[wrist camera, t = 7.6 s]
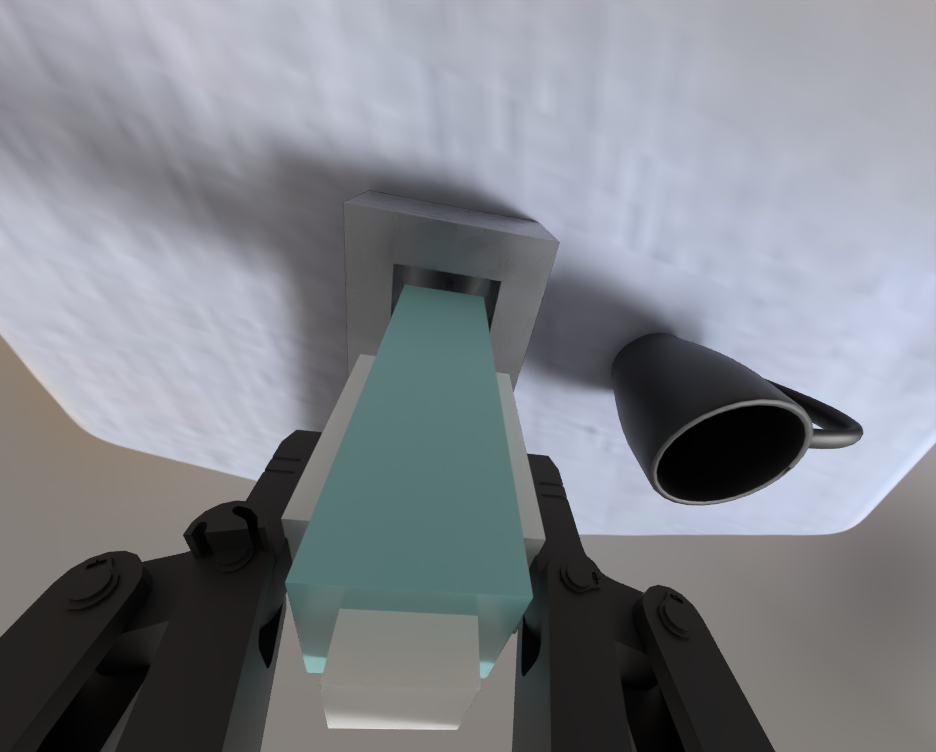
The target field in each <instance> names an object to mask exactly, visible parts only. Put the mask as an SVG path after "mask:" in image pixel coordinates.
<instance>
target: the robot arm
mask: <svg viewBox="0 0 936 752" xmlns="http://www.w3.org/2000/svg"><path fill="white" fill-rule="evenodd" d="M375 357H376V356H371V355H364V354H360V356H359V358H358V360H357V362H356V364H355V366H354V368H353V370H352V372H351V374H350V376H349V379H348V381H347V383H346V385H345V387H344V389H343V391H342V393H341V395H340V397H339V399H338V401H337V403H336V406H335V408H334V410H333V412H332V414H331V416H330V418H329V420H328V422H327V424H326V426H325V428H324V430H323V433H322V432H313V431H304V430H296V431H295V432H293V433H292V434H291V435H289V436H288V437H287V438H286V439H284V440H283V441H282V442H281V444H280V445H279V447H278V449H277V450H276V452H275V453H274V455H273V458H272V460H270V462H269V463H268V465H267V467H266V468H265V472H263V473H262V475H261V477H260V478H259V480H258V482H257V483H256V485H255V486H254V488H253V490H252V491H251V493H250V495H249V497H248V498H247V500H246V501H232V502H228V503H223V504H220V505H218V506H215V507H213V508H211V509H209V510H207V511H205V512H204V513H203V514H202V515H200V516H199V517H198V518H196V519H195V520H194V521H193V522H192V523H191V524H190V526H189V527H188V529H187V530H186V531H185V533H184V535H183V536H184V538H185V540H186V542H187V544H188V546H189V548H190V550H191V551H189V552H186V553H181V554H177V555H172V556H168V557H164V558H159V559H154V560H149V561H145V562H142V561H141V560H140V558H139V557H138V555H136V554H133V553H130V552H127V551H116V552H107V553H104V554H101V555H99V556H95V557H92V558H89V559H88V560H86V561H84V562H82V563H80V564H79V565H77V566H75V567H73V568H71V569H70V570H69V571H67V572H66V573H65V574H64V575H63V576H61V577H60V578H59V579H58V580H57V581H55V582H54V583H53V584H52V585H51V586H50V587H49V588H48V589H47V590H46V591H45V592H44V593H43V594H42V595H41V596H40V597H39V598H38V599H37V600H36V601H35V602H34V603H33V605H32V606H31V607H29V609H27V611H26V612H25V613H24V614H23V615H22V616H21V617H20V618H19V619H18V620H17V621H16V622H15V623H14V624H13V625H12V626H11V627H10V628H9V629H8V630H7V631H6V632H5V633H4V634H3V635H2V636H1V637H0V752H260V750H261V744H262V738H263V733H264V728H265V722H266V717H267V711H268V706H269V700H270V695H271V689H272V684H273V678H274V673H275V668H276V661H277V657H278V651H279V646H280V640H281V634H282V629H283V624H284V618H285V613H286V592H287V589H286V585H285V581H286V579H287V576H288V574H289V571H290V569H291V566H292V564H293V561H294V559H295V556H296V554H297V551H298V549H299V546H300V544H301V541H302V539H303V536H304V534H305V531H306V529H307V526H308V524H309V521H310V519H311V516H312V514H313V511H314V509H315V506H316V504H317V501H318V499H319V496H320V494H321V491H322V489H323V486H324V484H325V482H326V479H327V477H328V474H329V472H330V469H331V467H332V464H333V462H334V459H335V457H336V454H337V452H338V449H339V447H340V444H341V442H342V439H343V437H344V434H345V432H346V429H347V427H348V424H349V422H350V419H351V417H352V414H353V412H354V409H355V407H356V404H357V402H358V399H359V397H360V394H361V392H362V389H363V387H364V384H365V382H366V380H367V377H368V375H369V372H370V370H371V367H372V365H373V362H374V360H375ZM496 375H497V381H498V387H499V393H500V399H501V405H502V411H503V417H504V424H505V430H506V436H507V442H508V448H509V454H510V460H511V466H512V472H513V478H514V484H515V490H516V496H517V502H518V508H519V514H520V520H521V526H522V532H523V538H524V545H525V551H526V557H527V563H528V569H529V575H530V581H531V587H532V593H533V599H532V600H531V602H530V604H529V605H528V607H527V609H526V610H525V612H524V614H523V616H522V617H521V619H520V621H519V622H518V624H517V626H516V628H515V629H514V631H513V633H514V634H515V633H516V632H517V630H518V638H517V639H518V640H517V658H516V679H515V680H516V681H515V701H514V722H513V742H512V752H775V750H774V749H773V747H772V745H771V743H770V741H769V739H768V738H767V736H766V734H765V732H764V731H763V728H762V727H761V725H760V723H759V721H758V719H757V717H756V716H755V714H754V712H753V710H752V708H751V706H750V705H749V703H748V701H747V699H746V697H745V695H744V694H743V692H742V690H741V688H740V686H739V685H738V683H737V681H736V679H735V677H734V675H733V674H732V672H731V670H730V668H729V666H728V664H727V663H726V661H725V659H724V657H723V655H722V654H721V652H720V650H719V648H718V646H717V644H716V642H715V641H714V639H713V637H712V635H711V633H710V631H709V630H708V628H707V626H706V624H705V623H704V620H703V619H702V617H701V616H700V614H699V613H698V612H697V610H696V609H695V607H694V606H693V605H692V604H691V603H690V602H689V601H688V600H687V599H686V598H685V597H684V596H683V595H682V594H680V593H678V592H676V591H675V590H673V589H671V588H669V587H665V586H661V585H656V586H652V587H650V588H648V589H647V591H646V592H645V593H643V592H641V591H638V590H636V589H634V588H631V587H629V586H626V585H624V584H621V583H619V582H616V581H615V580H613V579H611V578H609V577H607V576H605V575H604V574H603V573H602V572H601V571H600V570H599V568H598V567H597V565H596V564H595V563H594V562H593V561H592V560H591V559H590V558H589V557H587V555H586V554H585V552H584V549H583V547H582V544H581V541H580V538H579V534H578V531H577V528H576V525H575V521H574V518H573V515H572V512H571V508H570V505H569V502H568V500H567V496H566V492H565V489H564V487H563V483H562V479H561V476H560V473H559V470H558V468H557V467H556V466H555V464H554V463H553V462H552V460H551V459H550V458H549V456H544V455H535V454H527V452H526V448H525V443H524V439H523V434H522V430H521V425H520V421H519V416H518V412H517V407H516V403H515V398H514V394H513V389H512V385H511V380H510V376H509V374H505V373H497V372H496Z"/></svg>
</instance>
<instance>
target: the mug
mask: <svg viewBox="0 0 936 752" xmlns="http://www.w3.org/2000/svg"><path fill="white" fill-rule="evenodd" d="M611 376H612V381H613V387H614V394H615V401H616V406H617V411H618V415H619V419H620V423H621V426H622V429H623V432H624V435H625V437H626V440H627V442H628V444H629V446H630V448H631V450H632V452H633V454H634V455H635V457H636V459H637V461H638V462H639V464H640V466H641V468H642V470H643V471H644V473H645V475H646V477H647V478H648V480H649V482H650V484H651V485H652V487H653V489H654V490H655V491H656V492H658V493H659V494H660V495H661V496H662V497H664V498H666V499H668V500H670V501H672V502H675V503H680V504H685V505H711V504H719V503H723V502H728V501H732V500H736V499H738V498H741V497H744V496H747V495H750V494H752V493H754V492H756V491H759V490H761V489H763V488H765V487H767V486H768V485H770V484H772V483H773V482H775V481H776V480H778V479H780V478H781V477H782V476H784V475H785V474H786V473H787V472H788V471H790V470H791V469H792V468H793V467H794V466H795V465H796V464H797V463H798V462H799V461H800V459H801V458H802V457H803V456H804V454H805V453H806V451H807V449H808V448H813V449H836V448H843V447H847V446H850V445H853V444H855V443H856V442H857V441H859V440H860V439H861V437H862V435H863V429H862V426H861V425H860V424H859V423H858V422H856V421H855V420H854V419H852V418H851V417H849V416H847V415H846V414H844V413H842V412H841V411H839V410H837V409H835V408H833V407H831V406H829V405H827V404H825V403H822V402H820V401H818V400H816V399H813V398H811V397H809V396H806V395H804V394H802V393H799V392H797V391H794V390H792V389H789V388H787V387H784V386H782V385H779V384H777V383H774V382H772V381H769V380H767V379H764V378H762V377H761V376H760V375H758V374H757V373H755V372H754V371H752V370H751V369H749V368H748V367H746V366H744V365H742V364H741V363H739V362H737V361H735V360H734V359H732V358H729V357H727V356H725V355H723V354H721V353H719V352H717V351H714V350H712V349H709V348H707V347H704V346H701V345H698V344H695V343H692V342H688V341H685V340H682V339H679V338H677V337H675V336H672V335H669V334H659V333H658V334H650V335H646V336H643V337H640V338H638V339H636V340H634V341H633V342H631V343H630V344H628V345H627V346H626V347H625V348H624V349H623V350H622V351H621V352H620V353H619V354H618V356H617V357H616V359H615V361H614V363H613V366H612V372H611ZM812 423H814V424H816V425H818V426H819V427H821V428H823V429H814V428H813V426H812Z"/></svg>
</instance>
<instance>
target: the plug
mask: <svg viewBox="0 0 936 752" xmlns="http://www.w3.org/2000/svg"><path fill="white" fill-rule="evenodd" d="M285 585H286V589H287V593H288V597H289V601H290V605H291V609H292V613H293V617H294V621H295V626H296V629H297V633H298V638H299V642H300V646H301V650H302V654H303V658H304V662H305V666H306V670H307V672H309V673H323V674H322V678H321V682H320V690H321V695H322V699H323V705H324V709H325V714H326V719H327V724H328V728H361V729H362V728H363V729H366V728H367V729H435V730H457V729H458V727H459V725H460V724H461V722H462V720H463V719H464V717H465V715H466V714H467V712H468V710H469V709H470V707H471V705H472V703H473V702H474V700H475V698H476V697H477V695H478V693H479V691H480V690H481V685H480V678H486V677H487V675H488V673H489V672H490V670H491V668H492V667H493V665H494V663H495V662H496V660H497V658H498V657H499V655H500V653H501V651H502V650H503V648H504V646H505V645H506V643H507V641H508V639H509V638H510V636H511V634H512V633H513V631H514V629H515V628H516V626H517V624H518V622H519V621H520V619H521V617H522V616H523V614H524V612H525V610H526V609H527V607H528V605H529V604H530V602H531V600H532V599H533V593H532V587H531V581H530V575H529V569H528V563H527V557H526V551H525V545H524V538H523V532H522V526H521V520H520V514H519V508H518V502H517V496H516V490H515V484H514V478H513V472H512V466H511V460H510V454H509V448H508V442H507V436H506V430H505V424H504V417H503V411H502V405H501V399H500V393H499V387H498V381H497V375H496V369H495V363H494V357H493V351H492V345H491V339H490V333H489V327H488V321H487V315H486V309H485V303H484V297H481V296H475V295H468V294H462V293H456V292H449V291H443V290H437V289H431V288H424V287H418V286H412V285H406V284H405V285H404V287H403V290H402V292H401V295H400V297H399V300H398V302H397V305H396V307H395V310H394V312H393V315H392V317H391V320H390V322H389V325H388V327H387V330H386V332H385V335H384V337H383V340H382V342H381V345H380V347H379V350H378V352H377V355H376V357H375V360H374V362H373V365H372V367H371V370H370V372H369V375H368V377H367V380H366V382H365V384H364V387H363V389H362V392H361V394H360V397H359V399H358V402H357V404H356V407H355V409H354V412H353V414H352V417H351V419H350V422H349V424H348V427H347V429H346V432H345V434H344V437H343V439H342V442H341V444H340V447H339V449H338V452H337V454H336V457H335V459H334V462H333V464H332V467H331V469H330V472H329V474H328V477H327V479H326V482H325V484H324V486H323V489H322V491H321V494H320V496H319V499H318V501H317V504H316V506H315V509H314V511H313V514H312V516H311V519H310V521H309V524H308V526H307V529H306V531H305V534H304V536H303V539H302V541H301V544H300V546H299V549H298V551H297V554H296V556H295V559H294V561H293V564H292V566H291V569H290V571H289V574H288V576H287V579H286V581H285Z"/></svg>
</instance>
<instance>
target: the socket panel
mask: <svg viewBox="0 0 936 752" xmlns="http://www.w3.org/2000/svg"><path fill="white" fill-rule="evenodd" d="M344 240H345V278H346V315H347V353H348V379H349V376H350V374H351V372H352V370H353V368H354V366H355V364H356V362H357V360H358V358H359V356H360V354H364V355H371V356H376V355H377V352H378V350H379V347H380V345H381V342H382V340H383V337H384V335H385V332H386V330H387V327H388V325H389V322H390V320H391V317H392V315H393V312H394V310H395V307H396V305H397V302H398V300H399V297H400V295H401V292H402V290H403V287H404V285H405V284H406V285H412V286H418V287H424V288H431V289H437V290H443V291H449V292H456V293H462V294H468V295H475V296H481V297H484V303H485V309H486V315H487V321H488V327H489V333H490V339H491V345H492V351H493V357H494V363H495V369H496V372H497V373H505V374H509V376H510V380H511V385H512V389H513V392H514V389H515V386H516V383H517V379H518V376H519V373H520V370H521V366H522V363H523V360H524V357H525V353H526V350H527V347H528V344H529V340H530V337H531V334H532V331H533V327H534V324H535V321H536V318H537V314H538V311H539V308H540V305H541V301H542V298H543V295H544V291H545V288H546V285H547V282H548V278H549V275H550V272H551V269H552V265H553V262H554V259H555V256H556V252H557V249H558V246H559V243H560V242H559V241H558V240H557V239H556V238H555V237H554V236H553V235H552V234H551V233H550V232H549V231H548V230H546V229H545V228H544V227H543V226H542V225H541V224H540V223H538V222H533V221H528V220H522V219H517V218H512V217H507V216H501V215H496V214H491V213H485V212H480V211H475V210H469V209H464V208H459V207H453V206H448V205H443V204H438V203H432V202H427V201H422V200H416V199H411V198H406V197H400V196H395V195H390V194H384V193H379V192H374V191H367V192H365V193H363V194H360V195H358V196H356V197H354V198H352V199H350V200H348V201H346V202H344Z"/></svg>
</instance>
